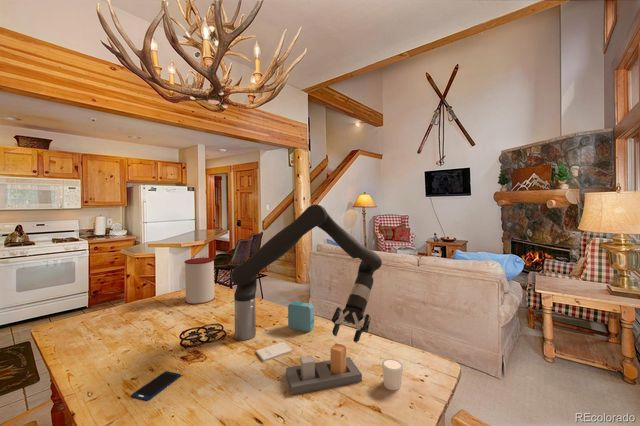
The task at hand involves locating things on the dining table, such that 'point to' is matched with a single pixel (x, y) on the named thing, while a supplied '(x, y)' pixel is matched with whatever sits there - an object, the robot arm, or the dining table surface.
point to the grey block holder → (319, 375)
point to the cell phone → (155, 386)
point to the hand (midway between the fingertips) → (344, 338)
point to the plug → (338, 359)
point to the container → (199, 280)
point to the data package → (301, 316)
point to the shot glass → (392, 373)
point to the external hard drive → (273, 351)
